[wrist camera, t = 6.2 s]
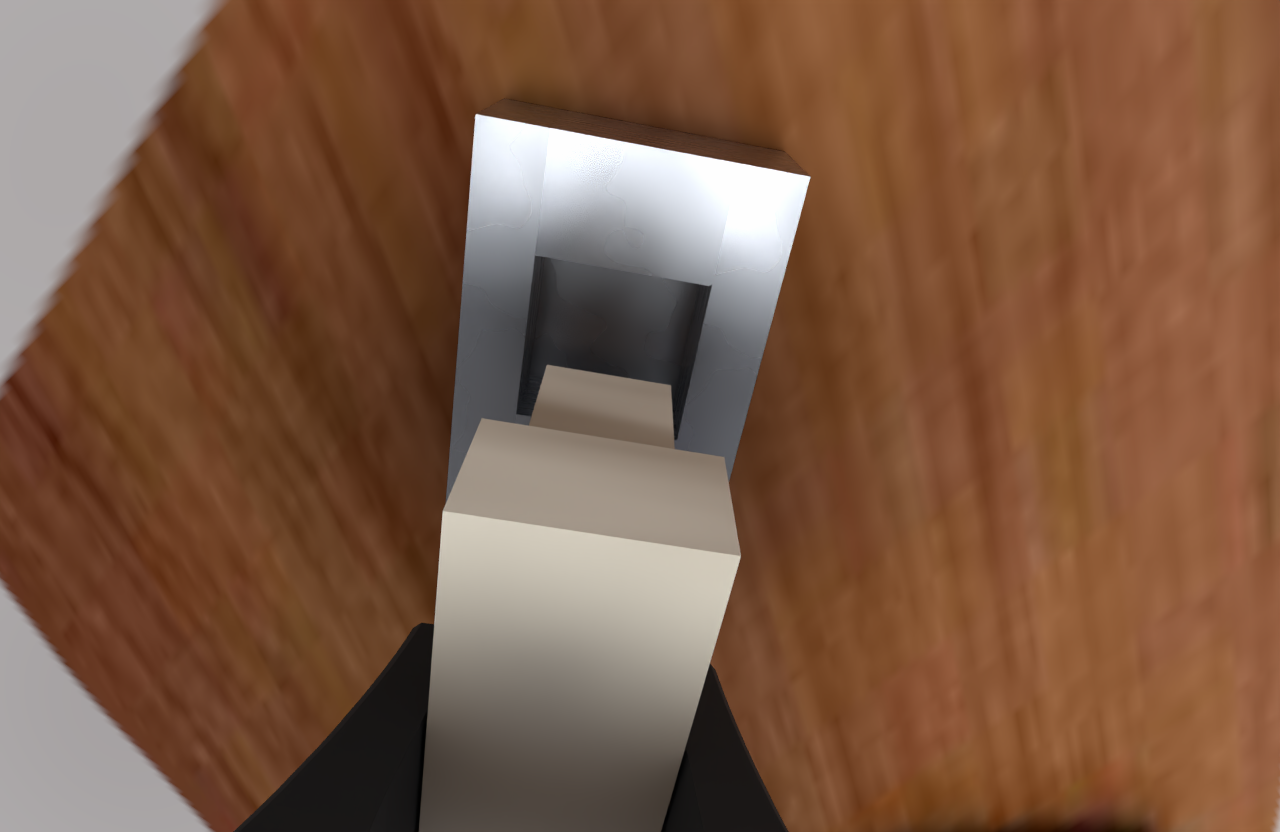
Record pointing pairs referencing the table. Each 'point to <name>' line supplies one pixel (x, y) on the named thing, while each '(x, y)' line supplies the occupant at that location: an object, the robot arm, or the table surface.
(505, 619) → the cream stepped block
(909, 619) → the table surface
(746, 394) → the slot rail
